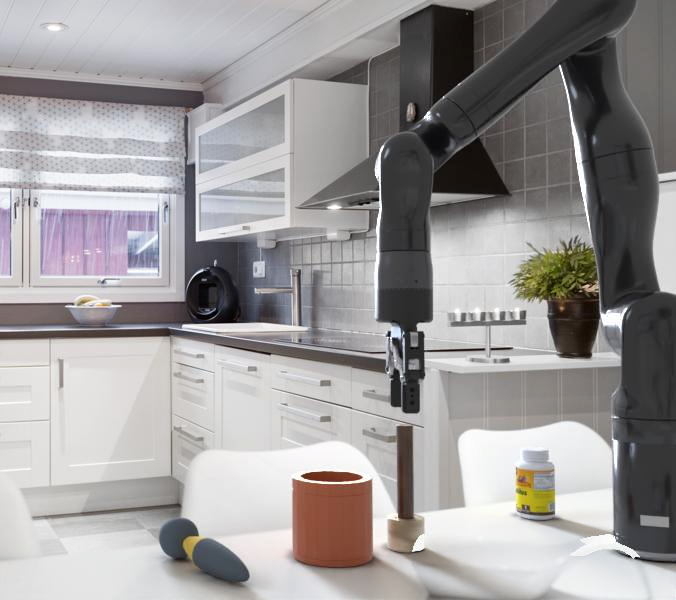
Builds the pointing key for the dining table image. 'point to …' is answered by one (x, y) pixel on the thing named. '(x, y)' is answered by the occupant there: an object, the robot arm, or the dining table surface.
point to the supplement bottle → (535, 484)
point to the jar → (332, 518)
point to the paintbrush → (201, 550)
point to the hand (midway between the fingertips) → (404, 410)
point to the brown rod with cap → (404, 496)
